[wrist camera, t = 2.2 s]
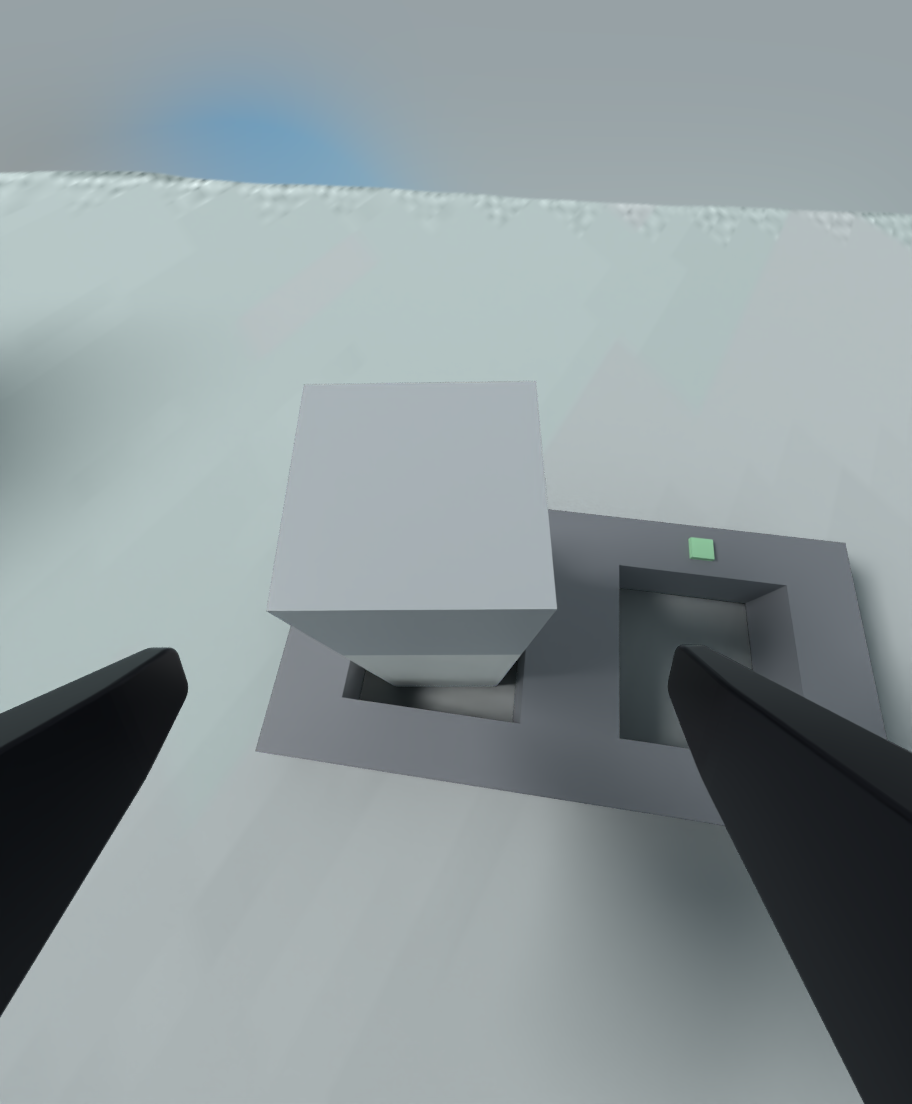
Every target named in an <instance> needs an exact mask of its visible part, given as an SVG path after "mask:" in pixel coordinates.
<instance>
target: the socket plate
mask: <svg viewBox="0 0 912 1104" xmlns="http://www.w3.org/2000/svg"><path fill="white" fill-rule="evenodd" d="M548 516H549V527H550V538H551V549H552V560H553V570H554V581H555V592H556V603H557V610H556V611H555V612H554V614H553V615H552V616H551V617H550V619H549V620H548V621H547V622H546V624H545V625H544V626H543V628H542V629H541V630H540V631H539V633H538V634H537V635H536V636H535V638H534V639H533V640H532V642H531V643H530V644H529V645H528V647H527V648H526V649H525V650H524V652H523V653H522V654H521V656H520V657H519V658H518V662H517V674H516V686H515V698H514V710H513V722H506V721H499V720H492V719H485V718H478V717H472V716H465V715H458V714H451V713H445V712H438V711H431V710H424V709H417V708H411V707H404V706H397V705H390V704H384V703H377V702H370V701H363V700H359V698H360V693H361V688H362V683H363V679H364V674H365V669H364V668H363V667H361V666H359V665H358V664H356V663H354V662H352V661H351V660H349V659H347V658H346V657H344V656H342V655H341V654H339V653H337V652H335V651H334V650H332V649H330V648H329V647H327V646H325V645H323V644H322V643H320V642H318V641H317V640H315V639H313V638H312V637H310V636H308V635H306V634H305V633H303V632H301V631H300V630H298V629H296V628H294V627H293V626H291V627H290V630H289V634H288V637H287V641H286V644H285V648H284V651H283V655H282V658H281V662H280V666H279V669H278V673H277V676H276V680H275V683H274V687H273V690H272V694H271V697H270V701H269V704H268V708H267V711H266V715H265V719H264V722H263V726H262V729H261V733H260V736H259V740H258V743H257V747H256V750H255V751H257V752H263V753H269V754H276V755H282V756H288V757H295V758H301V759H307V760H314V761H320V762H326V763H333V764H339V765H345V766H352V767H358V768H364V769H371V770H377V771H383V772H390V773H396V774H402V775H408V776H415V777H421V778H427V779H434V780H440V781H446V782H453V783H459V784H465V785H472V786H478V787H484V788H491V789H497V790H503V791H510V792H516V793H522V794H528V795H535V796H541V797H547V798H554V799H560V800H566V801H573V802H579V803H585V804H592V805H598V806H604V807H611V808H617V809H623V810H630V811H636V812H642V813H649V814H655V815H661V816H667V817H674V818H680V819H686V820H693V821H699V822H705V823H712V824H718V825H724V823H723V821H722V819H721V817H720V815H719V813H718V811H717V809H716V807H715V805H714V803H713V801H712V799H711V797H710V795H709V793H708V791H707V789H706V787H705V785H704V783H703V781H702V778H701V776H700V774H699V771H698V769H697V766H696V764H695V761H694V759H693V756H692V754H691V751H690V749H689V748H682V747H675V746H668V745H662V744H655V743H648V742H641V741H634V740H628V739H621V738H620V718H619V588H625V589H633V590H641V591H649V592H657V593H665V594H674V595H682V596H690V597H698V598H706V599H714V600H722V601H730V602H738V603H745V605H746V614H747V623H748V632H749V641H750V649H751V658H752V667H753V671H755V672H757V673H759V674H760V675H762V676H764V677H766V678H768V679H770V680H772V681H774V682H776V683H778V684H780V685H782V686H784V687H786V688H788V689H789V690H791V691H793V692H795V693H797V694H799V695H801V696H803V697H805V698H807V699H809V700H811V701H813V702H815V703H817V704H819V705H820V706H822V707H824V708H826V709H828V710H830V711H832V712H834V713H836V714H838V715H840V716H842V717H844V718H846V719H848V720H849V721H851V722H853V723H855V724H857V725H859V726H861V727H863V728H865V729H867V730H869V731H871V732H873V733H875V734H877V735H879V736H880V737H882V738H884V739H886V740H887V736H886V732H885V727H884V722H883V718H882V713H881V708H880V704H879V699H878V694H877V690H876V685H875V680H874V675H873V671H872V666H871V661H870V657H869V652H868V647H867V643H866V638H865V633H864V629H863V624H862V619H861V615H860V610H859V605H858V600H857V596H856V591H855V586H854V582H853V577H852V572H851V568H850V563H849V558H848V554H847V549H846V544H845V543H840V542H832V541H823V540H814V539H805V538H796V537H787V536H779V535H770V534H761V533H752V532H743V531H735V530H726V529H717V528H708V527H699V526H691V525H682V524H673V523H664V522H655V521H646V520H638V519H629V518H620V517H611V516H602V515H594V514H585V513H576V512H567V511H558V510H550V509H548ZM724 826H725V825H724Z"/></svg>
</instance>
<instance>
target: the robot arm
mask: <svg viewBox="0 0 912 1104" xmlns="http://www.w3.org/2000/svg"><path fill="white" fill-rule="evenodd" d="M668 691H669V695H670V698H671V701H672V704H673V706H674V709H675V711H676V714H677V717H678V719H679V722H680V725H681V727H682V730H683V733H684V735H685V738H686V740H687V743H688V746H689V748H690V751H691V754H692V756H693V759H694V761H695V764H696V766H697V769H698V771H699V774H700V776H701V778H702V781H703V783H704V785H705V787H706V789H707V791H708V793H709V795H710V797H711V799H712V801H713V803H714V805H715V807H716V809H717V811H718V813H719V815H720V817H721V819H722V821H723V823H724V825H725V827H726V829H727V831H728V833H729V835H730V837H731V839H732V841H733V843H734V845H735V847H736V849H737V851H738V853H739V855H740V857H741V859H742V861H743V863H744V865H745V867H746V869H747V871H748V873H749V875H750V877H751V879H752V881H753V883H754V885H755V887H756V889H757V891H758V893H759V895H760V897H761V899H762V901H763V903H764V905H765V907H766V909H767V911H768V913H769V915H770V917H771V919H772V921H773V923H774V925H775V927H776V929H777V931H778V933H779V935H780V937H781V939H782V941H783V943H784V945H785V947H786V949H787V951H788V953H789V955H790V957H791V959H792V961H793V963H794V965H795V967H796V969H797V971H798V973H799V975H800V977H801V979H802V981H803V983H804V985H805V987H806V989H807V991H808V993H809V995H810V997H811V999H812V1001H813V1003H814V1005H815V1007H816V1009H817V1011H818V1013H819V1015H820V1017H821V1019H822V1021H823V1023H824V1025H825V1027H826V1029H827V1031H828V1033H829V1035H830V1037H831V1038H832V1040H833V1042H834V1044H835V1046H836V1048H837V1050H838V1052H839V1054H840V1056H841V1058H842V1060H843V1062H844V1064H845V1066H846V1068H847V1070H848V1072H849V1074H850V1076H851V1078H852V1080H853V1082H854V1084H855V1086H856V1088H857V1090H858V1092H859V1094H860V1096H861V1098H862V1100H863V1102H864V1104H912V753H911V752H909V751H908V750H906V749H904V748H902V747H900V746H898V745H896V744H894V743H892V742H890V741H888V740H886V739H884V738H882V737H880V736H879V735H877V734H875V733H873V732H871V731H869V730H867V729H865V728H863V727H861V726H859V725H857V724H855V723H853V722H851V721H849V720H848V719H846V718H844V717H842V716H840V715H838V714H836V713H834V712H832V711H830V710H828V709H826V708H824V707H822V706H820V705H819V704H817V703H815V702H813V701H811V700H809V699H807V698H805V697H803V696H801V695H799V694H797V693H795V692H793V691H791V690H789V689H788V688H786V687H784V686H782V685H780V684H778V683H776V682H774V681H772V680H770V679H768V678H766V677H764V676H762V675H760V674H759V673H757V672H755V671H753V670H751V669H749V668H747V667H745V666H743V665H741V664H739V663H737V662H735V661H733V660H731V659H730V658H728V657H726V656H724V655H722V654H720V653H718V652H716V651H714V650H712V649H710V648H708V647H706V646H704V645H680V646H679V647H677V649H676V651H675V654H674V658H673V662H672V667H671V671H670V676H669V680H668ZM187 693H188V683H187V679H186V676H185V673H184V670H183V667H182V664H181V661H180V658H179V655H178V653H177V652H176V650H174V649H173V648H147V649H145V650H142V651H140V652H138V653H136V654H133V655H131V656H129V657H127V658H124V659H122V660H120V661H118V662H115V663H113V664H111V665H109V666H106V667H104V668H102V669H100V670H97V671H95V672H93V673H91V674H88V675H86V676H84V677H82V678H79V679H77V680H75V681H73V682H70V683H68V684H66V685H64V686H61V687H59V688H57V689H55V690H52V691H50V692H48V693H46V694H43V695H41V696H39V697H37V698H34V699H32V700H30V701H28V702H25V703H23V704H21V705H19V706H17V707H14V708H12V709H10V710H8V711H5V712H3V713H1V714H0V1017H1V1015H2V1014H3V1012H4V1010H5V1009H6V1007H7V1006H8V1004H9V1002H10V1001H11V999H12V997H13V996H14V994H15V992H16V991H17V989H18V988H19V986H20V984H21V983H22V981H23V979H24V978H25V976H26V974H27V973H28V971H29V970H30V968H31V966H32V965H33V963H34V961H35V960H36V958H37V956H38V955H39V953H40V952H41V950H42V948H43V947H44V945H45V943H46V942H47V940H48V938H49V937H50V935H51V934H52V932H53V930H54V929H55V927H56V925H57V924H58V922H59V920H60V919H61V917H62V916H63V914H64V912H65V911H66V909H67V907H68V906H69V904H70V902H71V901H72V899H73V898H74V896H75V894H76V893H77V891H78V889H79V888H80V886H81V884H82V883H83V881H84V880H85V878H86V876H87V875H88V873H89V871H90V870H91V868H92V866H93V865H94V863H95V862H96V860H97V858H98V857H99V855H100V853H101V852H102V850H103V848H104V847H105V845H106V844H107V842H108V840H109V839H110V837H111V835H112V834H113V832H114V830H115V829H116V827H117V826H118V824H119V822H120V821H121V819H122V817H123V816H124V814H125V812H126V811H127V809H128V808H129V806H130V804H131V803H132V801H133V799H134V798H135V796H136V794H137V793H138V791H139V789H140V788H141V786H142V784H143V782H144V781H145V779H146V777H147V775H148V773H149V771H150V770H151V768H152V766H153V764H154V762H155V760H156V758H157V756H158V754H159V752H160V750H161V748H162V746H163V744H164V742H165V740H166V737H167V735H168V733H169V731H170V729H171V727H172V725H173V723H174V721H175V719H176V717H177V715H178V713H179V711H180V709H181V707H182V705H183V703H184V701H185V699H186V696H187Z"/></svg>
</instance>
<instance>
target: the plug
mask: <svg viewBox="0 0 912 1104" xmlns="http://www.w3.org/2000/svg"><path fill="white" fill-rule="evenodd" d="M556 610H557V603H556V592H555V581H554V570H553V560H552V549H551V538H550V527H549V516H548V505H547V494H546V483H545V472H544V461H543V451H542V440H541V429H540V418H539V407H538V396H537V385H536V381H497V382H429V383H361V384H304V386H303V392H302V398H301V404H300V410H299V416H298V422H297V428H296V434H295V440H294V447H293V453H292V459H291V465H290V471H289V477H288V483H287V489H286V495H285V501H284V507H283V513H282V519H281V525H280V531H279V537H278V543H277V549H276V555H275V561H274V567H273V573H272V579H271V585H270V591H269V597H268V603H267V609H266V611H267V612H269V613H271V614H272V615H274V616H276V617H277V618H279V619H281V620H283V621H284V622H286V623H288V624H289V625H291V626H293V627H294V628H296V629H298V630H300V631H301V632H303V633H305V634H306V635H308V636H310V637H312V638H313V639H315V640H317V641H318V642H320V643H322V644H323V645H325V646H327V647H329V648H330V649H332V650H334V651H335V652H337V653H339V654H341V655H342V656H344V657H346V658H347V659H349V660H351V661H352V662H354V663H356V664H358V665H359V666H361V667H363V668H364V669H366V670H368V671H370V672H371V673H373V674H375V675H376V676H378V677H380V678H381V679H383V680H385V681H387V682H388V683H390V684H392V685H393V686H497V685H498V684H499V682H500V681H501V680H502V678H503V677H504V676H505V675H506V673H507V672H508V671H509V670H510V668H511V667H512V666H513V664H514V663H515V662H516V661H517V659H518V658H519V657H520V656H521V654H522V653H523V652H524V650H525V649H526V648H527V647H528V645H529V644H530V643H531V642H532V640H533V639H534V638H535V636H536V635H537V634H538V633H539V631H540V630H541V629H542V628H543V626H544V625H545V624H546V622H547V621H548V620H549V619H550V617H551V616H552V615H553V614H554V612H555V611H556Z"/></svg>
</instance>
